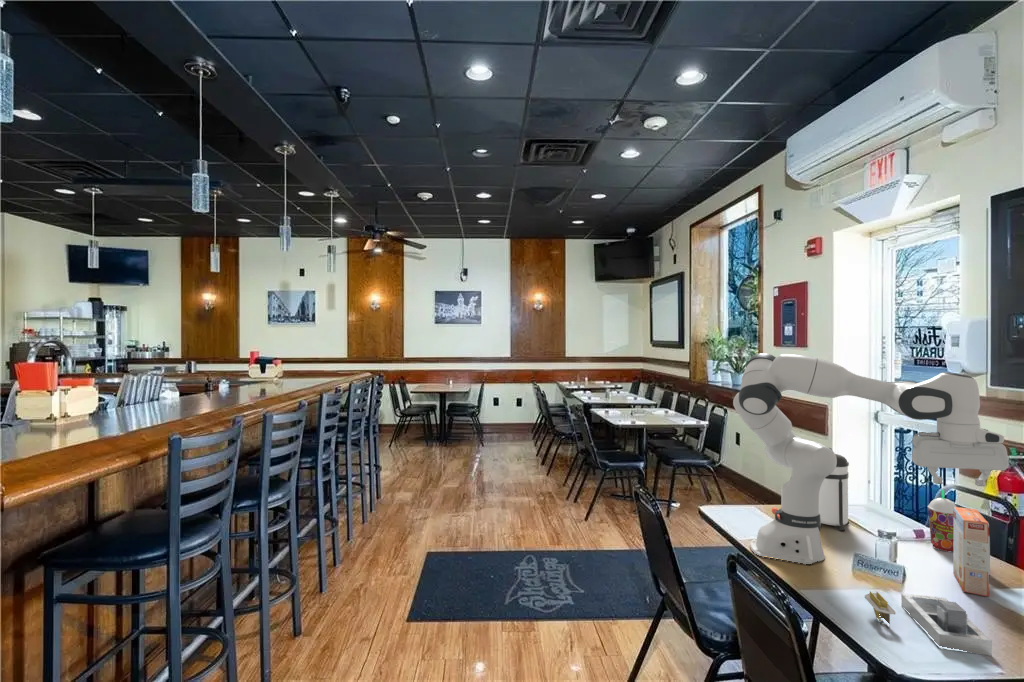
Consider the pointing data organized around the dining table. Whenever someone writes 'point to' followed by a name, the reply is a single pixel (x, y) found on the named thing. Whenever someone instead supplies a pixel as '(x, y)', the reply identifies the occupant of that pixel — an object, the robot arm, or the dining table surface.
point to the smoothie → (941, 523)
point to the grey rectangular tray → (926, 616)
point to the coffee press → (835, 496)
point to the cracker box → (971, 551)
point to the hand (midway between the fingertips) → (958, 484)
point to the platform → (880, 606)
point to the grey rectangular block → (951, 617)
